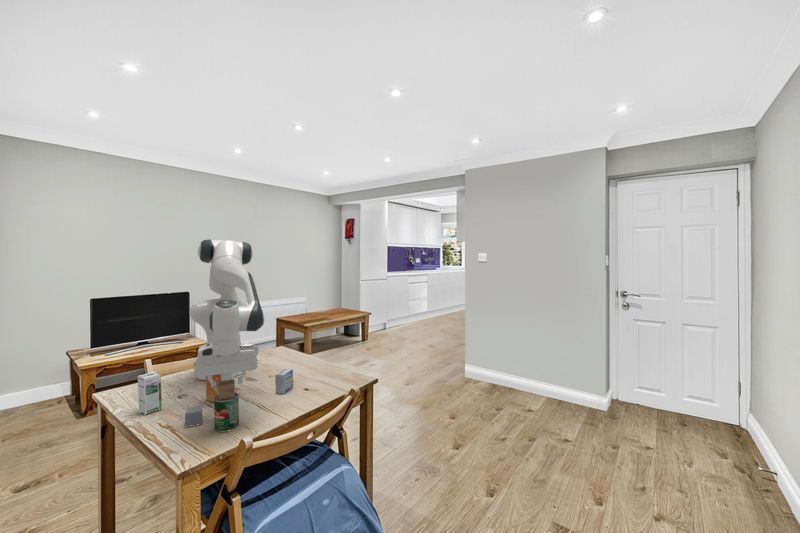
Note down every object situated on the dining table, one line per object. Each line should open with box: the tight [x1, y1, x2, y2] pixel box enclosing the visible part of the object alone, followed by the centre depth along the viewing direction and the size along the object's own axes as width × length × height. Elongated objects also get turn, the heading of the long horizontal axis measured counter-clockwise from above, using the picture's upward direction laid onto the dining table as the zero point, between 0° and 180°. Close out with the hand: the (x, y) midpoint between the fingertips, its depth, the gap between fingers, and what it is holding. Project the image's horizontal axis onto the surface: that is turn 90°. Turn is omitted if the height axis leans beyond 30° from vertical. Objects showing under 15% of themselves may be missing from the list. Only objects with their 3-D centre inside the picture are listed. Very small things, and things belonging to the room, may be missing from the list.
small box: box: [205, 373, 233, 403], centre depth 145 cm, size 8×6×13 cm
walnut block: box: [219, 378, 236, 400], centre depth 123 cm, size 5×5×5 cm
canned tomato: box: [213, 391, 240, 433], centre depth 123 cm, size 8×8×11 cm
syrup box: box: [137, 371, 163, 415], centre depth 134 cm, size 6×6×14 cm
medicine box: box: [274, 368, 294, 395], centre depth 155 cm, size 8×4×9 cm, turn 168°
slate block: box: [184, 405, 203, 427], centre depth 126 cm, size 5×5×5 cm
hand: (227, 384), depth 123 cm, fingers open, 7 cm apart
